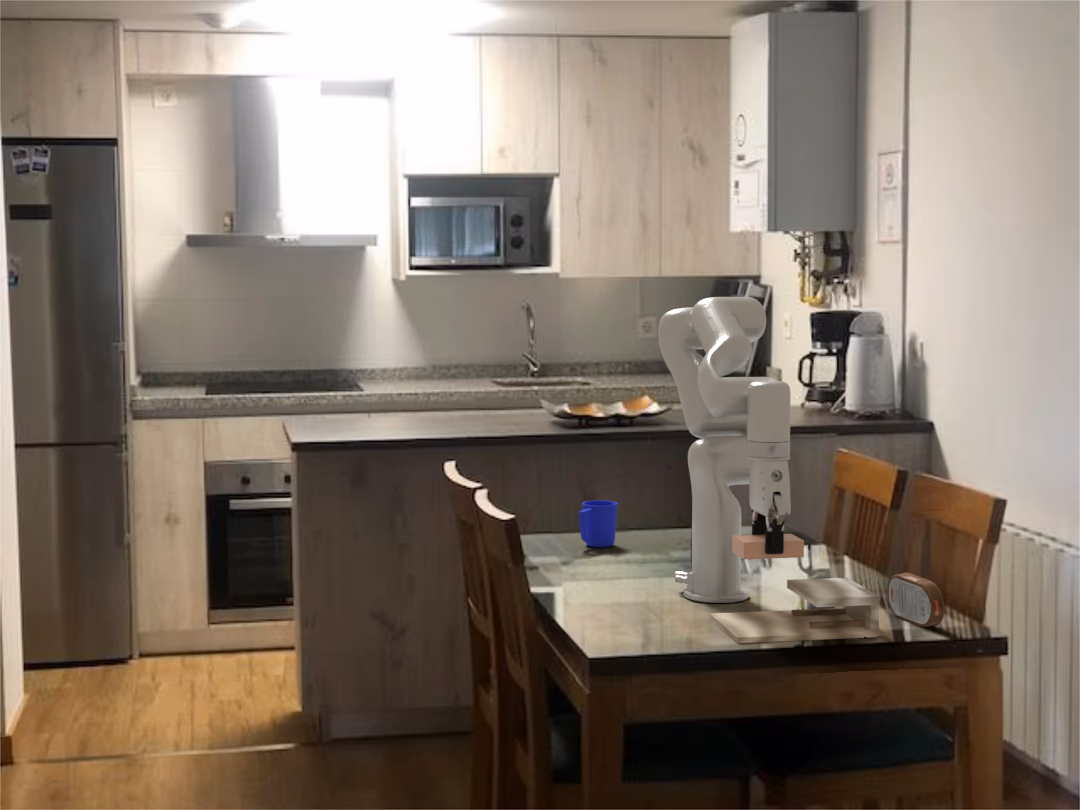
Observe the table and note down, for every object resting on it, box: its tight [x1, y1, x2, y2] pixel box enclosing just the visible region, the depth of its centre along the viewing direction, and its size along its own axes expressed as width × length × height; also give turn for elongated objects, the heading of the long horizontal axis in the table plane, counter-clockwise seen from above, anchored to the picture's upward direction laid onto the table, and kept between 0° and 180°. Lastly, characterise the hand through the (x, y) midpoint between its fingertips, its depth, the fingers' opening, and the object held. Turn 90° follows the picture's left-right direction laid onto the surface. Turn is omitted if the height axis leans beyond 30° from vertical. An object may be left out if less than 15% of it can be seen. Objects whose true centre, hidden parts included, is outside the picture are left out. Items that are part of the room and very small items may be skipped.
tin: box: [887, 572, 945, 628], centre depth 275 cm, size 15×3×8 cm, turn 20°
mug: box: [578, 499, 618, 548], centre depth 348 cm, size 8×12×10 cm
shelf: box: [708, 577, 885, 644], centre depth 271 cm, size 26×18×7 cm
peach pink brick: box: [732, 533, 805, 560], centre depth 269 cm, size 11×7×3 cm, turn 99°
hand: (767, 549), depth 269 cm, fingers closed on peach pink brick, 7 cm apart
